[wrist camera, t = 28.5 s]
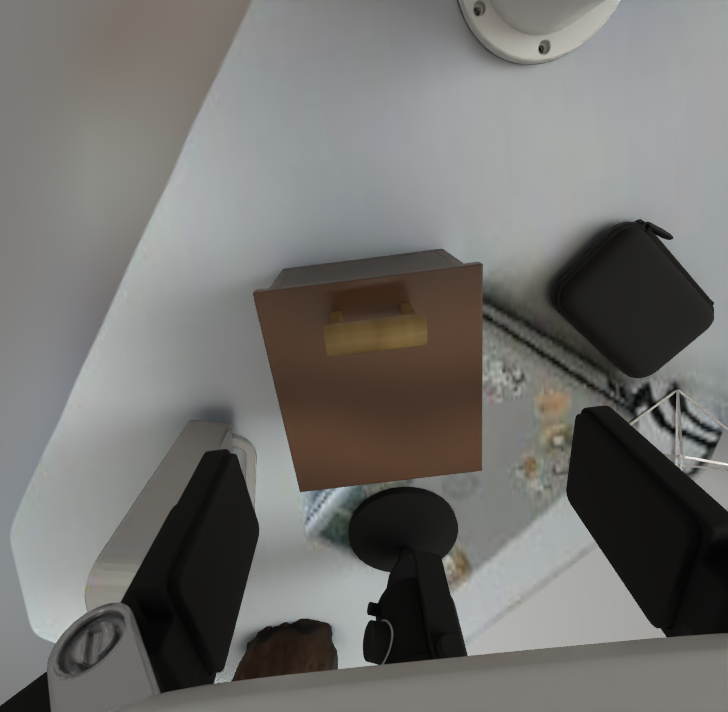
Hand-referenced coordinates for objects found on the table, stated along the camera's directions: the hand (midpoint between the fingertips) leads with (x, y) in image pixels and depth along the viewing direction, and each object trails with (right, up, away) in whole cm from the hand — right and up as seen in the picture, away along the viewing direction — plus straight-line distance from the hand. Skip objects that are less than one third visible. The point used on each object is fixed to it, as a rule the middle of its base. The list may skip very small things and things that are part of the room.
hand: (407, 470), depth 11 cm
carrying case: (+24, +9, +27) cm, 37 cm away
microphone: (+4, -18, +38) cm, 43 cm away
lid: (0, +1, +18) cm, 18 cm away
